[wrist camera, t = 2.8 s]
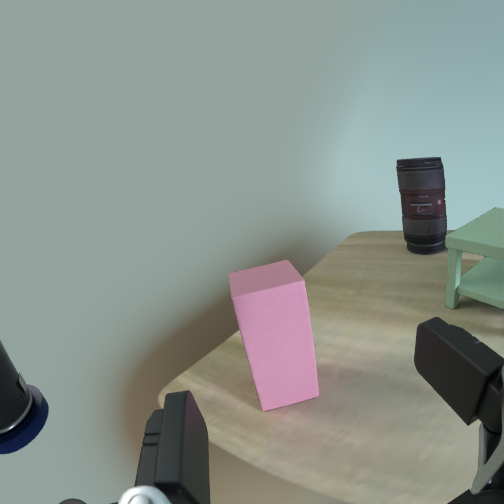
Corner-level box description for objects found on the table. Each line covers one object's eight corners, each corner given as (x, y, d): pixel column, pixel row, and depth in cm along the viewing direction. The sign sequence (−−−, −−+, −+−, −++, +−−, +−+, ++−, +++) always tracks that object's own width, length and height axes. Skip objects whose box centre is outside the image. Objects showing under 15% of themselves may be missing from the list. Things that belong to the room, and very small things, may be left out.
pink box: (262, 411, 20) (231, 297, 17) (255, 377, 24) (227, 273, 22) (319, 396, 20) (305, 279, 18) (304, 364, 25) (287, 259, 22)
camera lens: (456, 247, 40) (451, 156, 36) (424, 260, 39) (416, 159, 35) (427, 237, 48) (419, 156, 43) (394, 247, 47) (385, 160, 43)
